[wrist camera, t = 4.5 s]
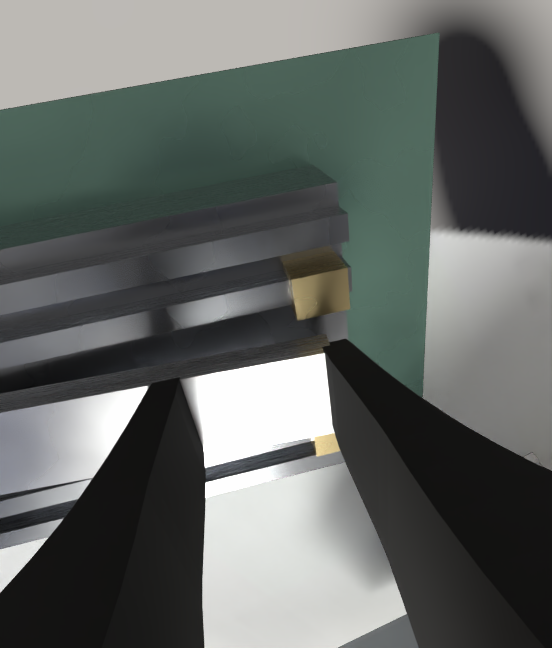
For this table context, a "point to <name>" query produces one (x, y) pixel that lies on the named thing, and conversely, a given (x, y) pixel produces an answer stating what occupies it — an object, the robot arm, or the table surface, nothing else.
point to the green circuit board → (217, 233)
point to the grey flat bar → (202, 397)
